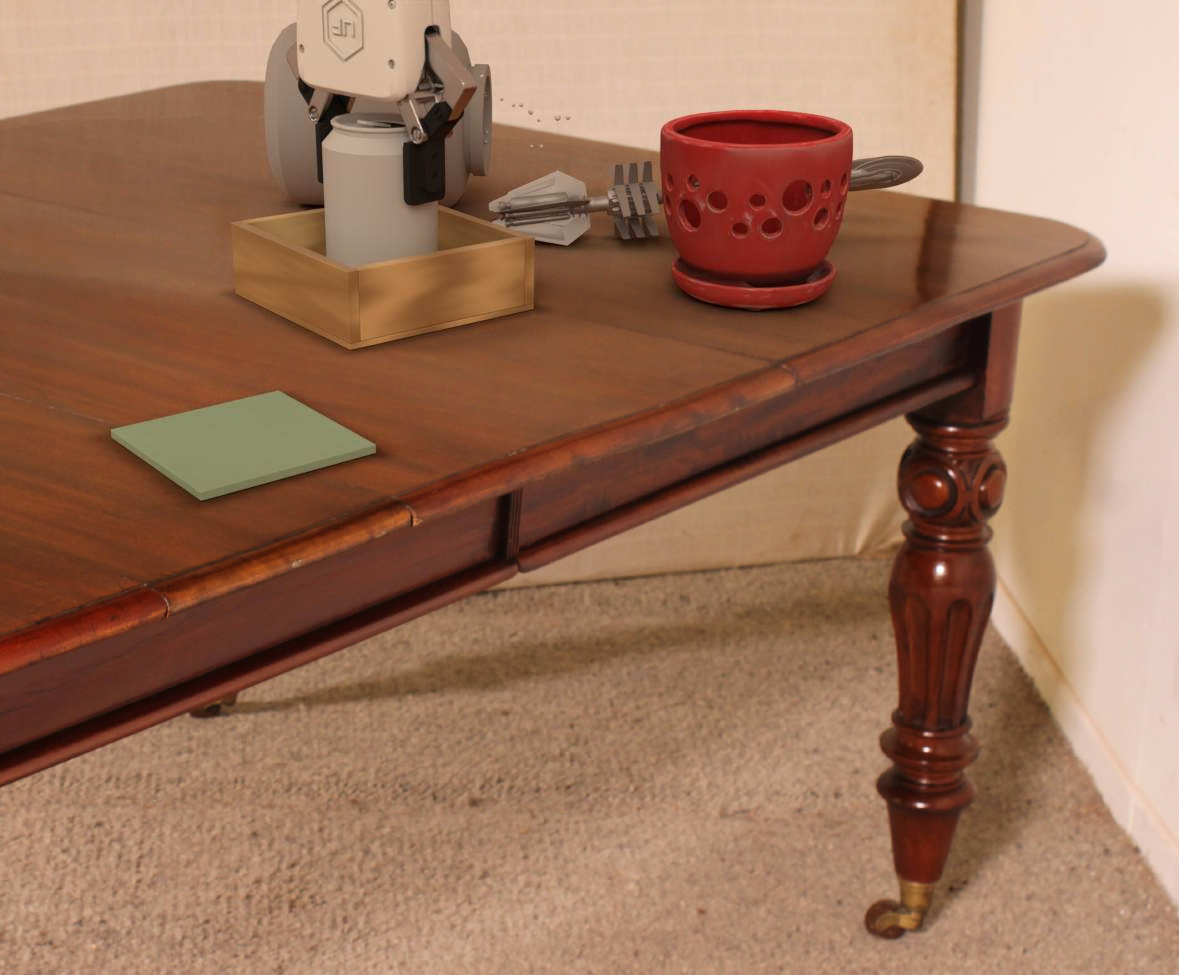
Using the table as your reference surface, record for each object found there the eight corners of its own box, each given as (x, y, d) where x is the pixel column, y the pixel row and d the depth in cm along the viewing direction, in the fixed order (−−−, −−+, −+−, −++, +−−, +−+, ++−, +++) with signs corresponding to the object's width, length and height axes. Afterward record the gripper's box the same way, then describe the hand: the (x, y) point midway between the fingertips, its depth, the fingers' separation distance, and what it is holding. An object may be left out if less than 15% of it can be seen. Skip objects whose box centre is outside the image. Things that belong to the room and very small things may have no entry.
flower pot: (740, 258, 115) (752, 99, 110) (876, 299, 106) (895, 128, 101) (615, 287, 107) (621, 117, 102) (750, 333, 98) (764, 149, 93)
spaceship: (947, 153, 114) (914, 97, 119) (494, 204, 110) (480, 144, 115) (930, 236, 120) (899, 179, 125) (499, 288, 116) (486, 227, 121)
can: (461, 293, 103) (460, 116, 98) (389, 319, 97) (385, 132, 92) (377, 274, 106) (373, 102, 101) (304, 297, 101) (295, 117, 96)
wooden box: (350, 350, 92) (347, 271, 90) (235, 293, 102) (230, 222, 100) (534, 309, 101) (535, 237, 99) (411, 261, 111) (410, 194, 109)
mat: (201, 501, 72) (200, 492, 71) (111, 438, 78) (110, 429, 78) (376, 453, 78) (376, 444, 77) (278, 398, 84) (278, 389, 84)
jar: (329, 114, 137) (594, 92, 132) (313, 259, 133) (587, 242, 128) (241, -12, 120) (542, -44, 115) (219, 150, 115) (532, 125, 110)
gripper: (233, -102, 94) (251, 178, 101) (430, -85, 84) (434, 224, 91) (324, -104, 99) (334, 162, 106) (519, -88, 89) (516, 204, 96)
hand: (380, 189), depth 99 cm, fingers closed on can, 7 cm apart
